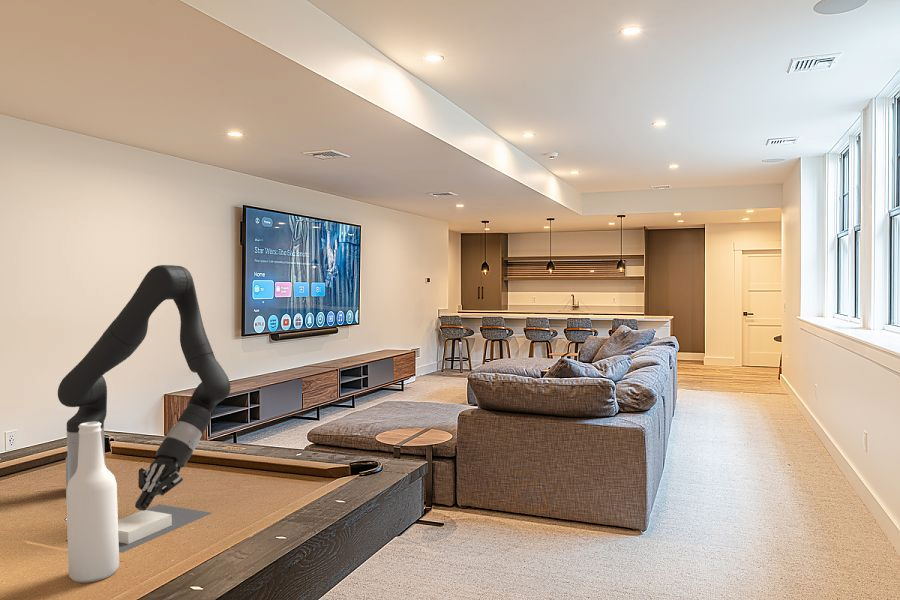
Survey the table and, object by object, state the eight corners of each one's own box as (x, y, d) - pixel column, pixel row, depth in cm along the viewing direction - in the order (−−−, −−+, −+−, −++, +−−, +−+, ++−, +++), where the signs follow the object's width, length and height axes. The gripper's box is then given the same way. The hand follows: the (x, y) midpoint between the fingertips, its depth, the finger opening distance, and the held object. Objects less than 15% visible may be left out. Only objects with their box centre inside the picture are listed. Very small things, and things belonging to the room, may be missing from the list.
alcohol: (66, 587, 124) (60, 430, 123) (72, 569, 132) (67, 421, 131) (117, 578, 127) (113, 425, 127) (120, 561, 136) (116, 417, 135)
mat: (65, 542, 146) (65, 540, 146) (159, 505, 170) (159, 504, 170) (122, 554, 139) (122, 552, 139) (212, 514, 163) (212, 512, 163)
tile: (144, 520, 158) (99, 538, 147) (143, 509, 158) (99, 526, 147) (171, 525, 154) (128, 544, 143) (171, 514, 154) (128, 532, 143)
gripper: (151, 434, 163) (109, 497, 152) (191, 438, 157) (150, 504, 147) (168, 450, 168) (129, 513, 157) (208, 454, 162) (169, 520, 151)
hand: (139, 508), depth 152 cm, fingers closed
